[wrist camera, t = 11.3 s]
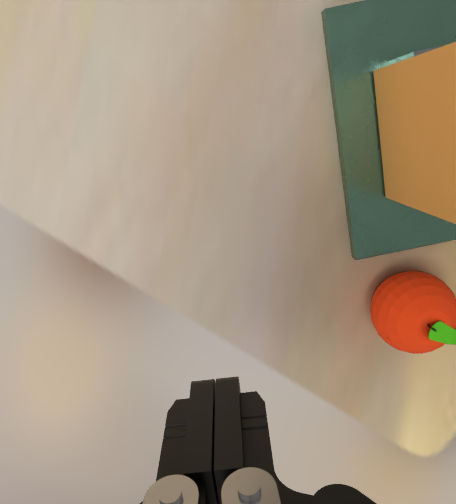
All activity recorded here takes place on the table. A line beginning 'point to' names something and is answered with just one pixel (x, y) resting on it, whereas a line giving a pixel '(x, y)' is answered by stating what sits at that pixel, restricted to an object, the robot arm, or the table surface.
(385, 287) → the clementine
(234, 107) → the table surface
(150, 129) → the table surface
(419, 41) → the heat sink mount
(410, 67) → the wooden stand
